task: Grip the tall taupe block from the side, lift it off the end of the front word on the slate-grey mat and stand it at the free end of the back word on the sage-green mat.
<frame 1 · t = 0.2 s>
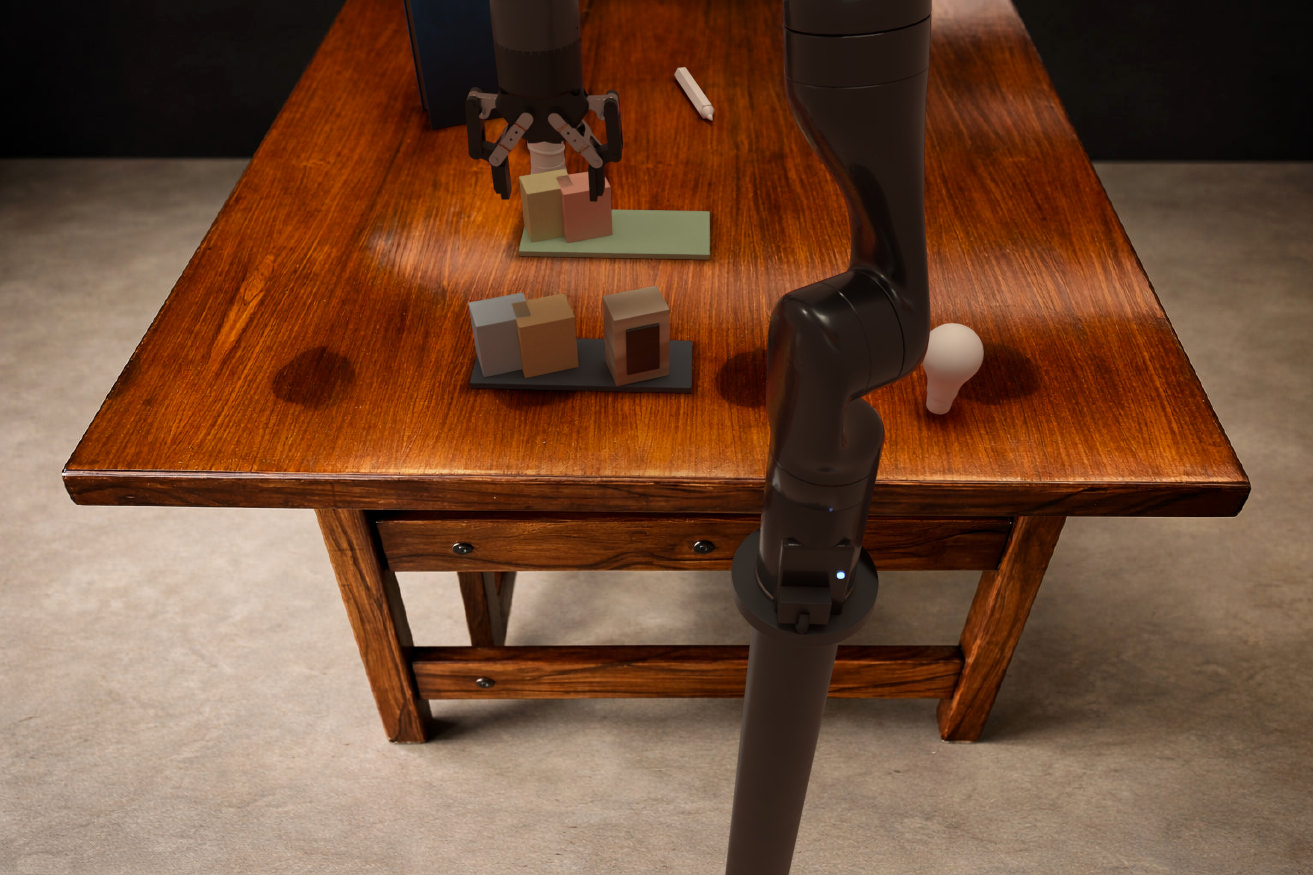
hand: (550, 196, 99), 21 cm above the table, tool pointing down, fingers open, 8 cm apart
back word: (616, 235, 132), on the table
tall taupe block: (637, 368, 112), point 1 cm above the table, touching front word
marker: (696, 104, 158), on the table
lightbulb: (936, 412, 108), on the table
front word: (583, 366, 114), on the table
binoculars: (546, 168, 145), on the table
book: (502, 104, 158), on the table
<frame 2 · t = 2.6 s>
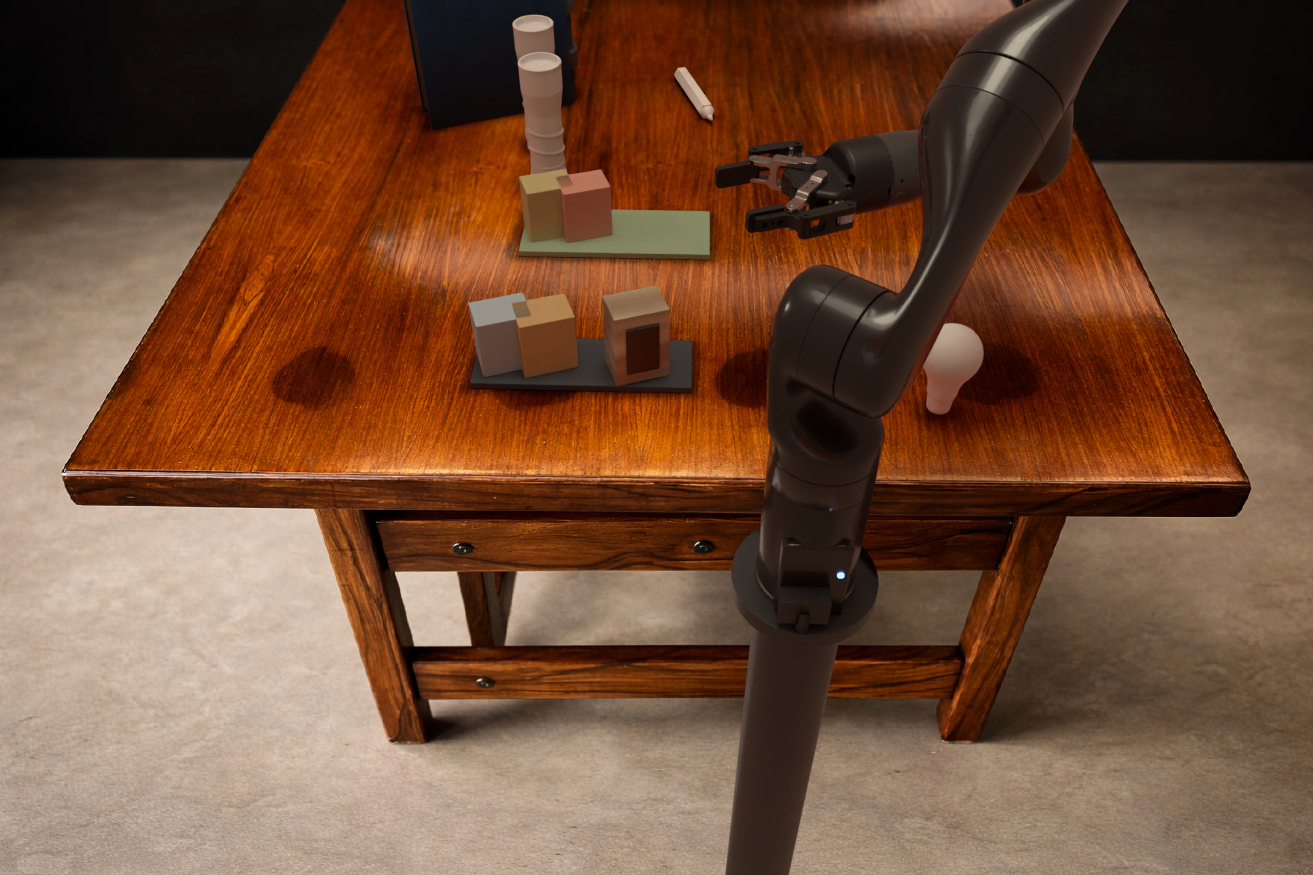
hand: (730, 199, 101), 20 cm above the table, tool horizontal, fingers open, 8 cm apart
nothing on the table moved.
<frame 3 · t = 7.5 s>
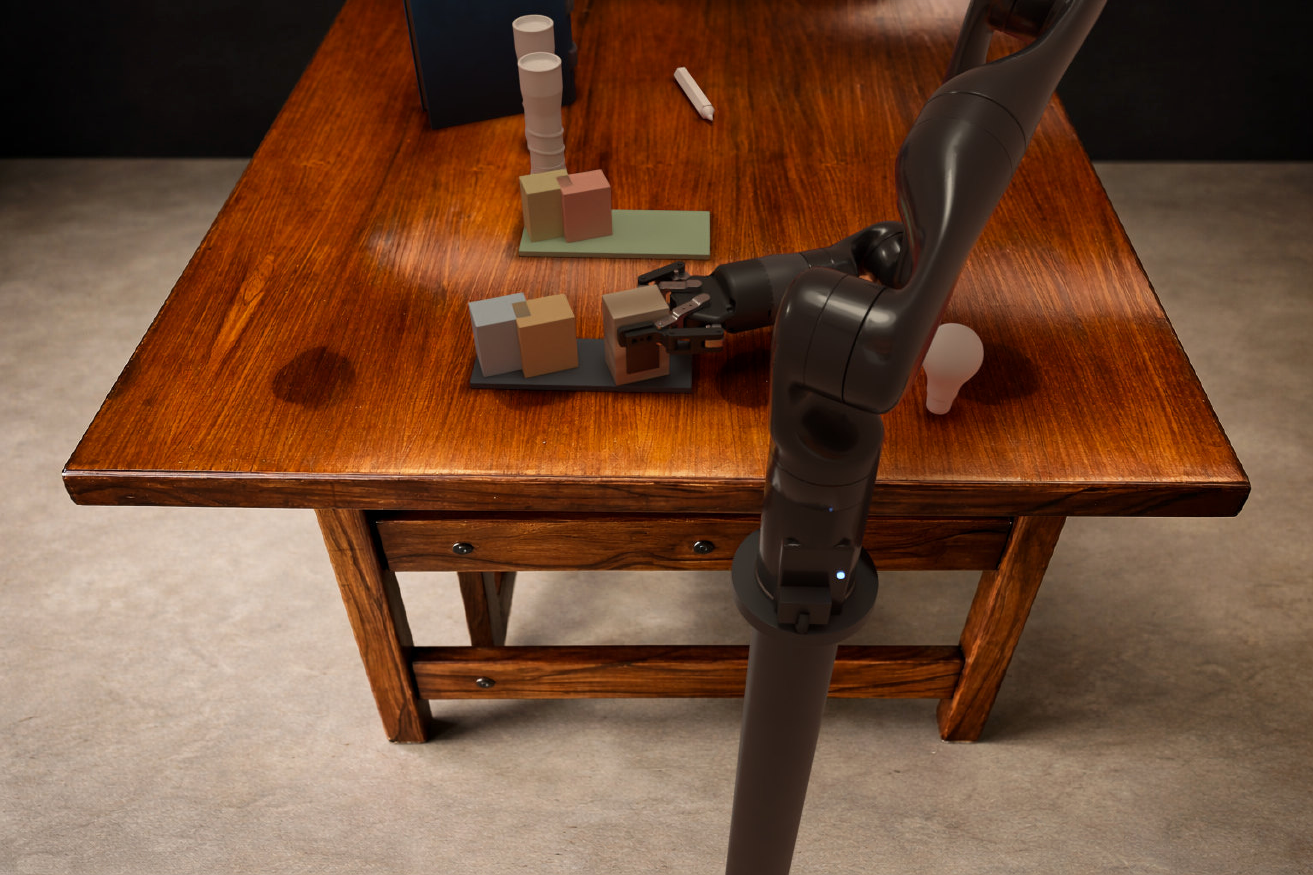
hand: (611, 322, 107), 8 cm above the table, tool horizontal, fingers closed on tall taupe block, 4 cm apart
tall taupe block: (637, 368, 112), point 1 cm above the table, touching front word, gripper
everything else where it was.
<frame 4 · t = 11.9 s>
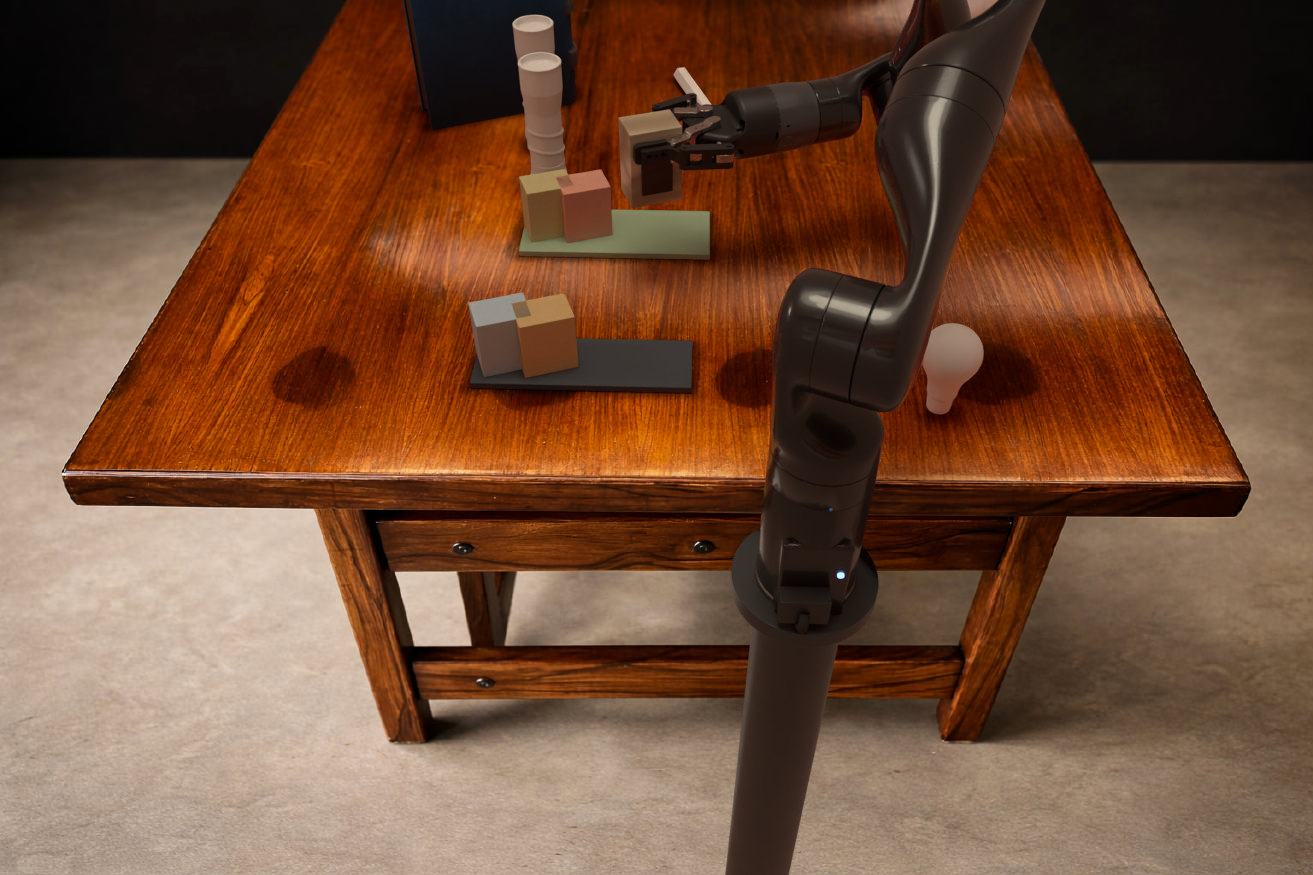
hand: (627, 143, 113), 18 cm above the table, tool horizontal, fingers closed on tall taupe block, 4 cm apart
tall taupe block: (651, 194, 118), point 11 cm above the table, touching gripper
everything else where it was.
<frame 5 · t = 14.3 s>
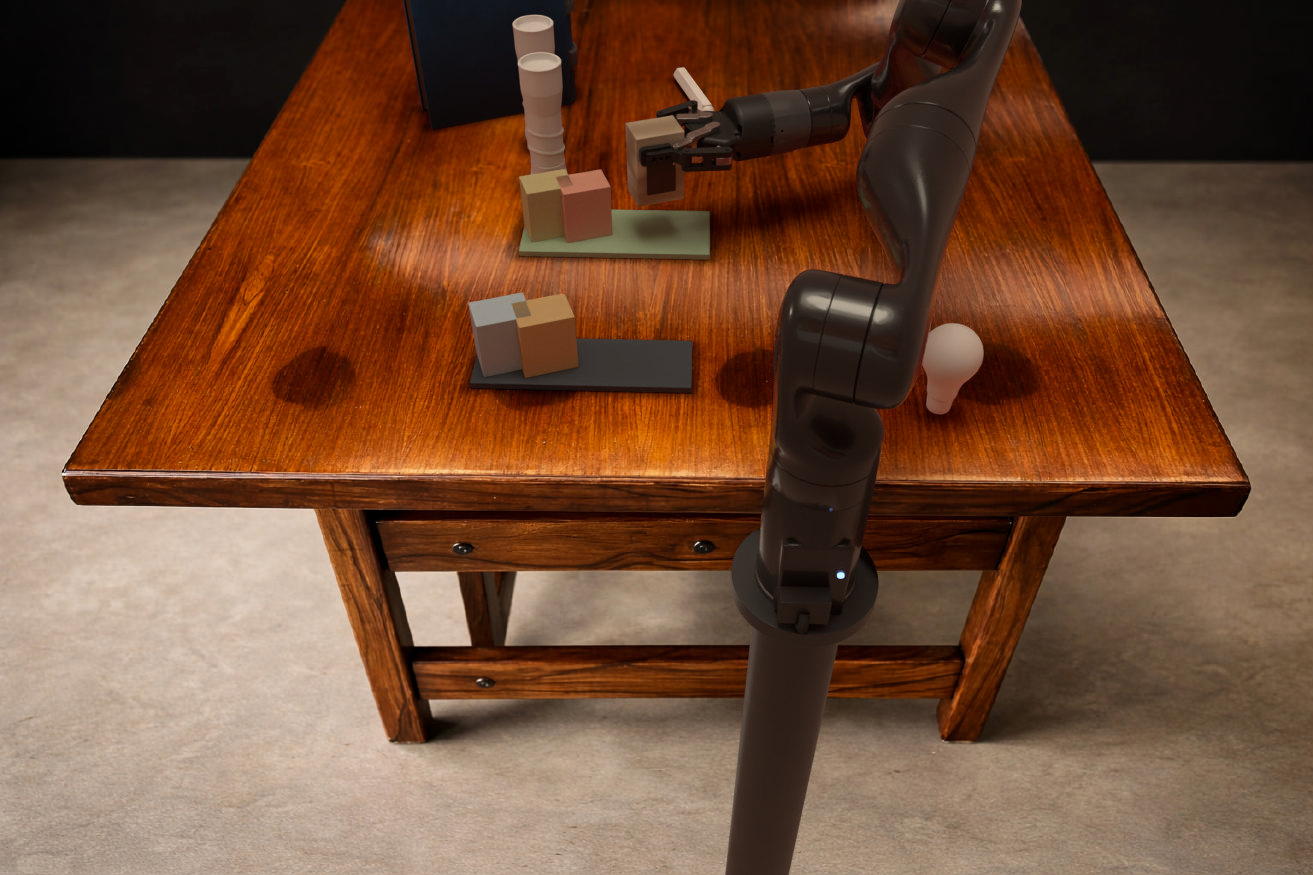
hand: (634, 147, 122), 13 cm above the table, tool horizontal, fingers closed on tall taupe block, 4 cm apart
tall taupe block: (655, 194, 128), point 6 cm above the table, touching gripper
everything else where it was.
when the fingers open (8 cm above the table, at t = 16.3 s): tall taupe block stays where it is, resting on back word.
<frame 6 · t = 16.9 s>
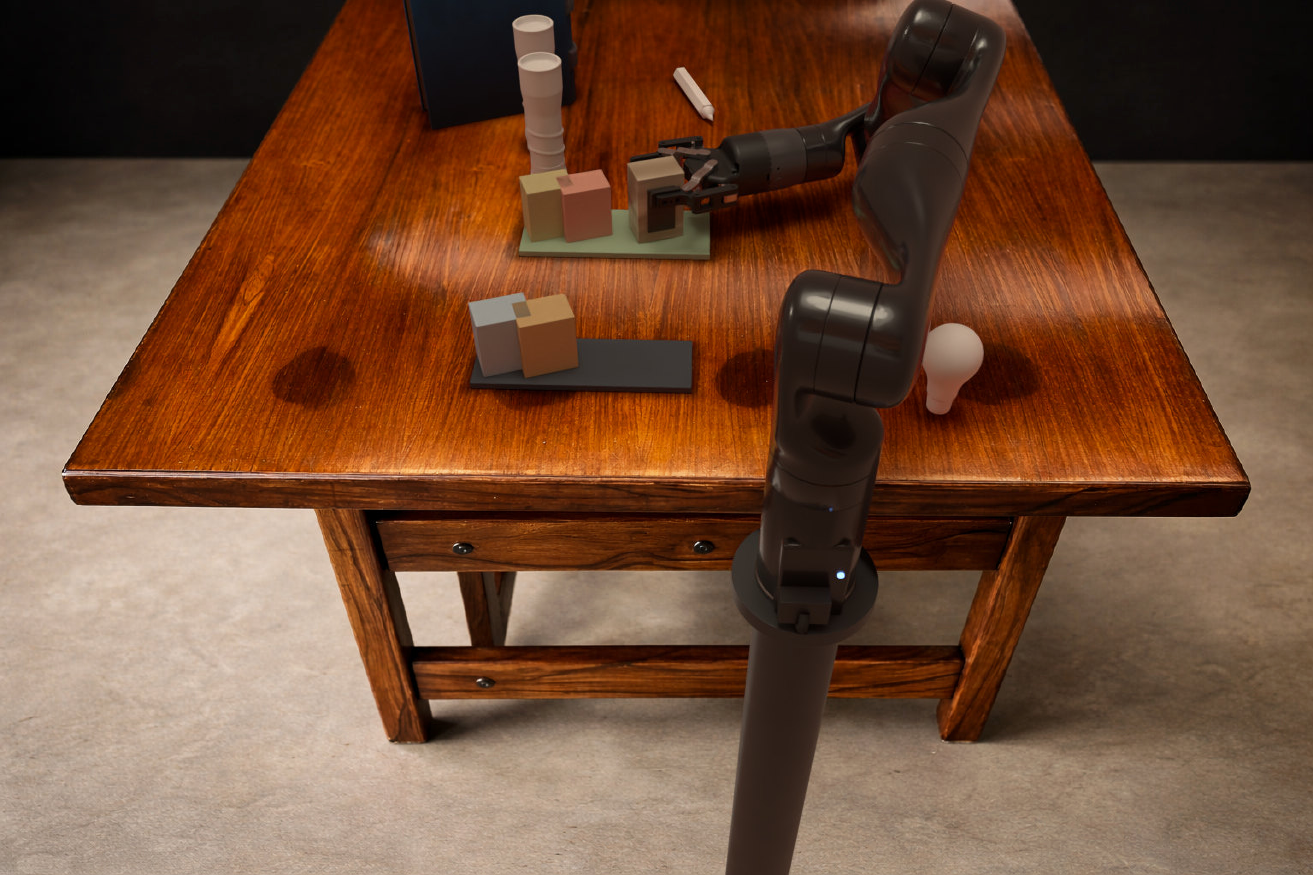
hand: (640, 182, 126), 8 cm above the table, tool horizontal, fingers open, 8 cm apart
tall taupe block: (655, 230, 131), point 1 cm above the table, touching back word
everything else where it was.
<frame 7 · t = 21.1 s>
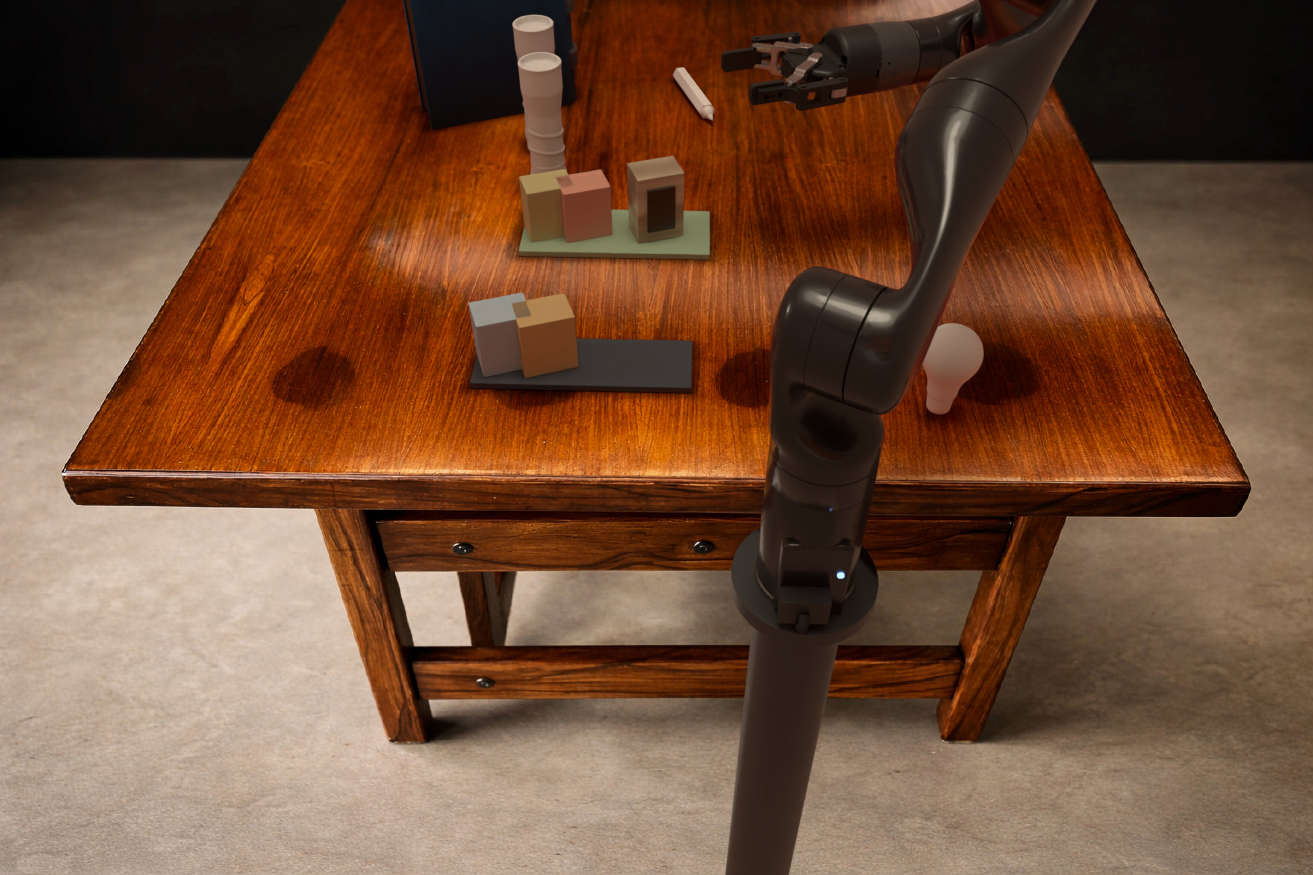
hand: (735, 78, 112), 23 cm above the table, tool horizontal, fingers open, 8 cm apart
nothing on the table moved.
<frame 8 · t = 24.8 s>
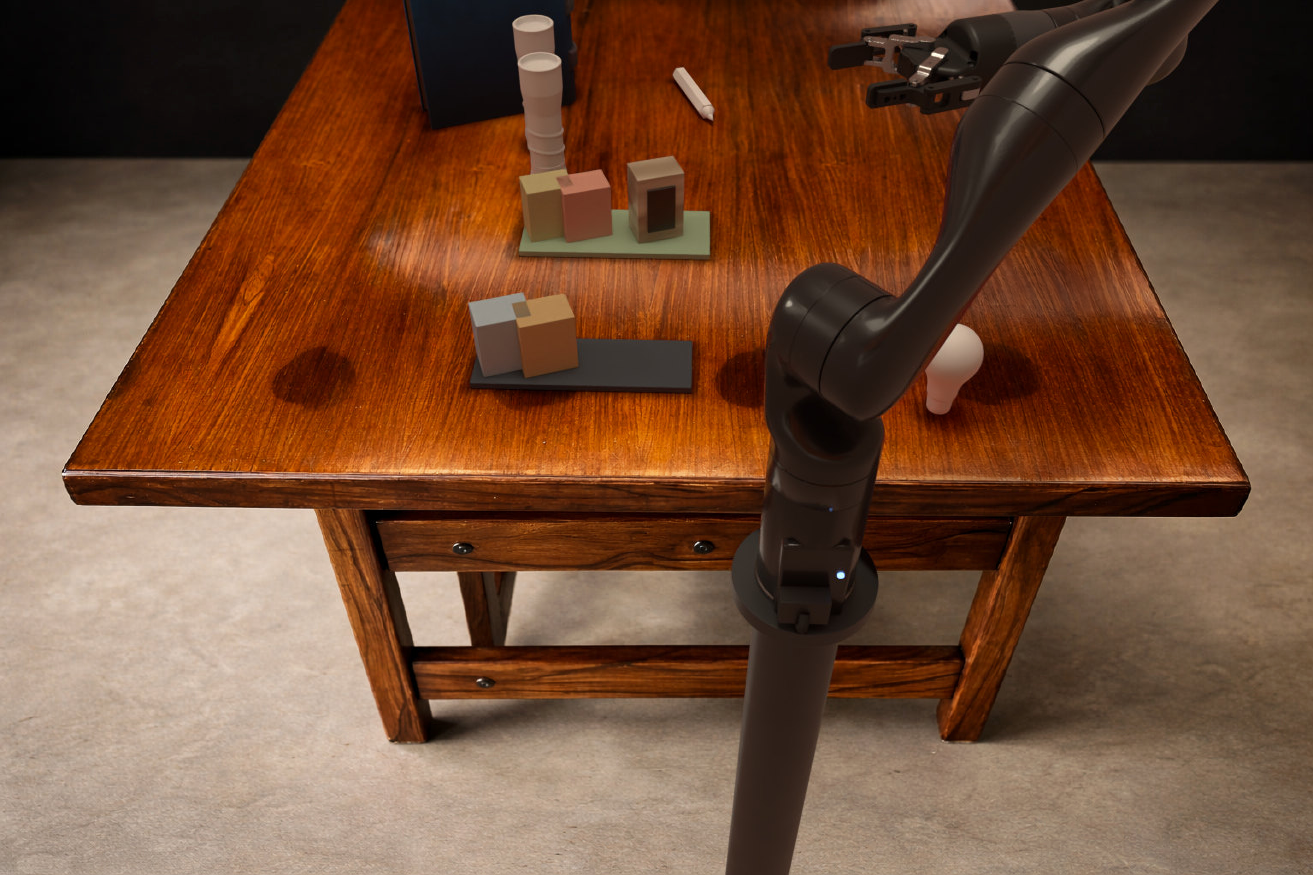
hand: (848, 77, 98), 30 cm above the table, tool horizontal, fingers open, 8 cm apart
nothing on the table moved.
at the end: tall taupe block inside the target area on the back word (0.1 cm from its centre), point 0.8 cm above the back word's base; tall taupe block tilted 0°; the gripper is holding nothing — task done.
